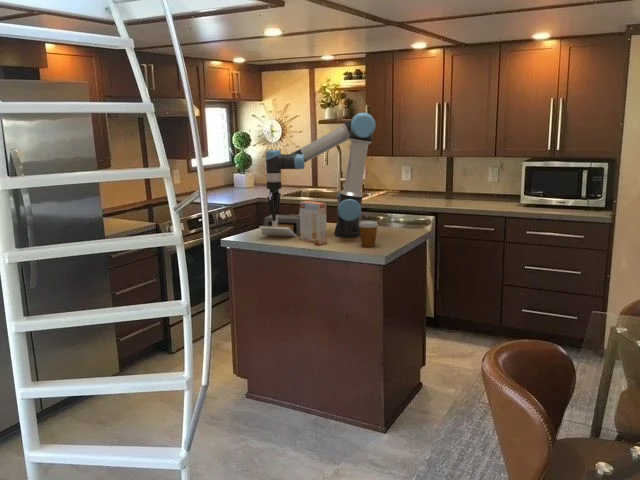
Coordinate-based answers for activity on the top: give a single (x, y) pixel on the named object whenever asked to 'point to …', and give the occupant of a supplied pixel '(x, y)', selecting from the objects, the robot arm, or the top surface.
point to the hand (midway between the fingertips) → (275, 226)
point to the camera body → (285, 222)
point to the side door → (277, 231)
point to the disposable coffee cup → (368, 233)
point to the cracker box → (313, 222)
